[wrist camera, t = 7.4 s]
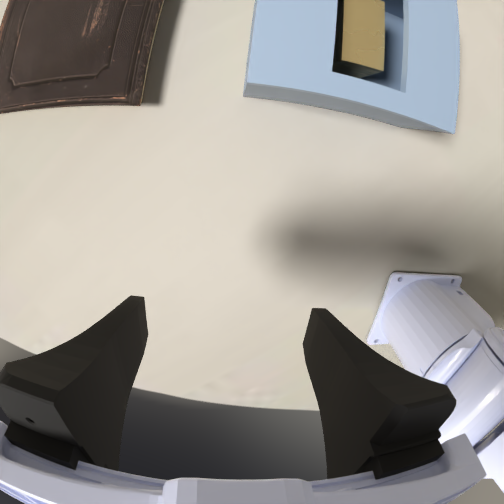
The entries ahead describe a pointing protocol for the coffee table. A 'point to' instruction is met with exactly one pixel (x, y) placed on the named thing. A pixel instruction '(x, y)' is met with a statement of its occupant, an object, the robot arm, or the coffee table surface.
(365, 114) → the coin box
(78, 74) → the hardcover book
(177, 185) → the coffee table surface
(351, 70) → the tan wooden block
